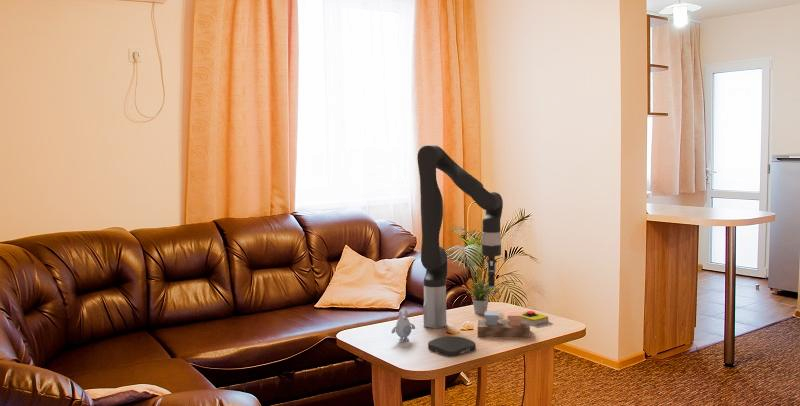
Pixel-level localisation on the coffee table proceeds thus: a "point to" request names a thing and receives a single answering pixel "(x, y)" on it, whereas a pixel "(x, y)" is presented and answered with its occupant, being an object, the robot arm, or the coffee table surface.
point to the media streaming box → (451, 346)
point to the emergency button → (535, 319)
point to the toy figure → (403, 327)
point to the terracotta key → (514, 318)
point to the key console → (503, 329)
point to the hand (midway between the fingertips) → (491, 283)
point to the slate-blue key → (491, 317)
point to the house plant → (480, 297)
